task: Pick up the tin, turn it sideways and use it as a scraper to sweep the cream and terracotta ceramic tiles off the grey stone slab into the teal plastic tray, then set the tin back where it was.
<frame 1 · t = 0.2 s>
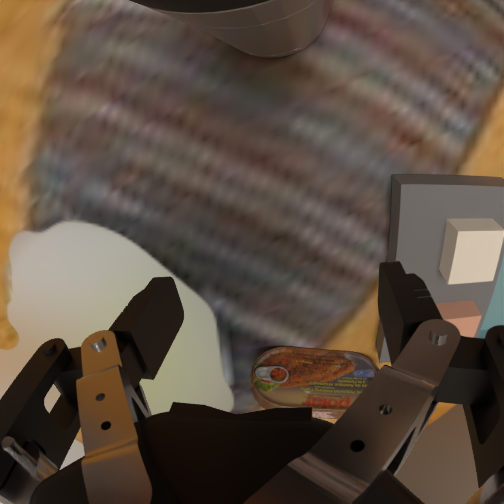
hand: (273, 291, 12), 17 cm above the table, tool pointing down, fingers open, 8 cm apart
cream tile: (466, 244, 24), point 3 cm above the table, touching grey stone slab
tin: (317, 356, 38), on the table
grey stone slab: (439, 269, 29), on the table
terracotta tile: (447, 321, 29), point 3 cm above the table, touching grey stone slab
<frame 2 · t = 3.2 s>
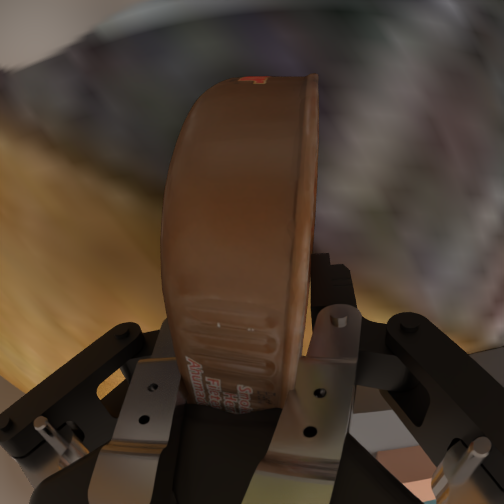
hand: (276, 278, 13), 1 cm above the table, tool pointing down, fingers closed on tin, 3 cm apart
tin: (275, 261, 14), on the table, touching gripper
grey stone slab: (462, 409, 17), on the table
terracotta tile: (408, 462, 16), point 3 cm above the table, touching grey stone slab
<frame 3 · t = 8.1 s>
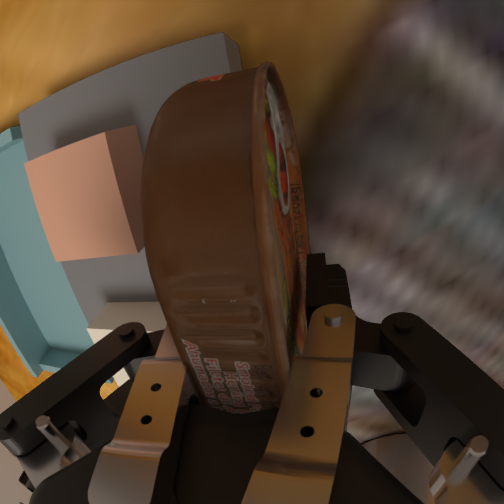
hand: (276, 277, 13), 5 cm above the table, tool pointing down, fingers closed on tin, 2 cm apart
cream tile: (156, 336, 18), point 3 cm above the table, touching grey stone slab
tin: (274, 252, 15), point 3 cm above the table, touching grey stone slab, gripper
grey stone slab: (168, 243, 19), on the table
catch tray: (43, 257, 21), on the table
terracotta tile: (104, 187, 14), point 3 cm above the table, touching grey stone slab
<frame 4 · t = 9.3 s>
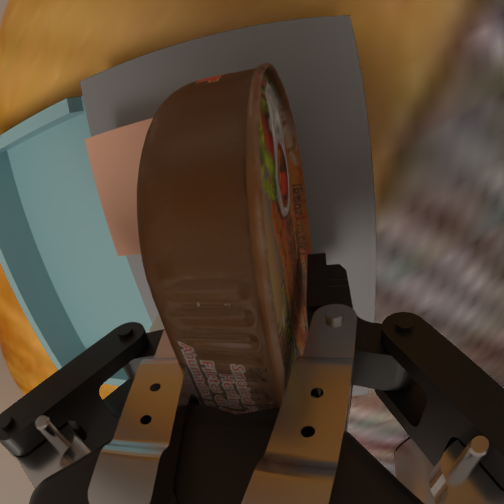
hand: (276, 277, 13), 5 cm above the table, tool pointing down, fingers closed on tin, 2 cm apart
tin: (276, 253, 15), point 3 cm above the table, touching grey stone slab, cream tile, gripper
grey stone slab: (252, 235, 17), on the table
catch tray: (89, 254, 20), on the table
terracotta tile: (177, 172, 13), point 3 cm above the table
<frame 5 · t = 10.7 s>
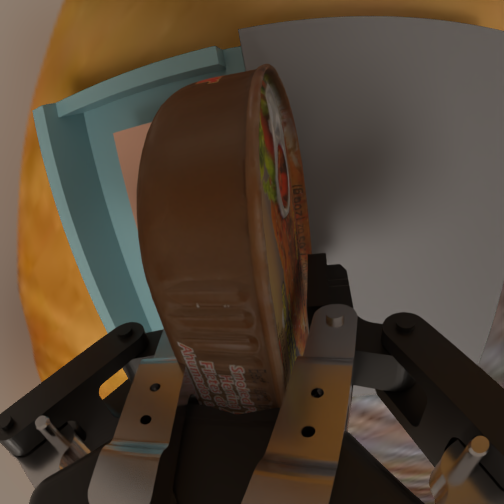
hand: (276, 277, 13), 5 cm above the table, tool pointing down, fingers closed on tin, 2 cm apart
tin: (276, 253, 15), point 3 cm above the table, touching gripper
grey stone slab: (393, 223, 16), on the table
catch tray: (190, 242, 18), on the table
terracotta tile: (198, 165, 15), point 1 cm above the table, tilted 12°
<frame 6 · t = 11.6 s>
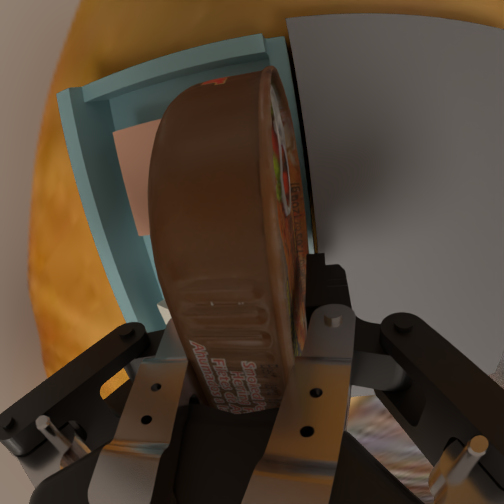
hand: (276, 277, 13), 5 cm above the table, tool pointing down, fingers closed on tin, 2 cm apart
tin: (274, 250, 15), point 2 cm above the table, touching cream tile, gripper, terracotta tile
grey stone slab: (425, 220, 15), on the table
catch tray: (219, 237, 18), on the table
terracotta tile: (193, 163, 15), point 1 cm above the table, touching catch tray, tin
when the fingers open (2 cm above the table, at t = 17.7 s): tin stays where it is, on the table.
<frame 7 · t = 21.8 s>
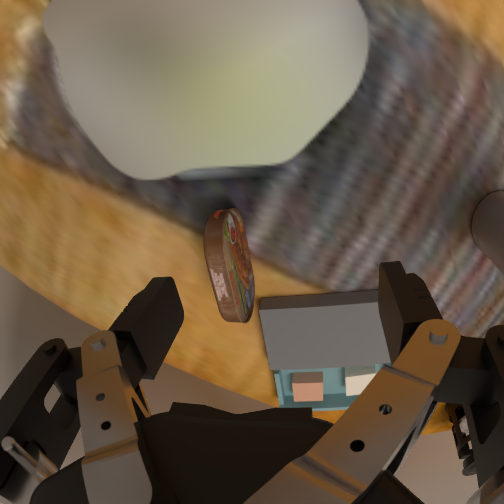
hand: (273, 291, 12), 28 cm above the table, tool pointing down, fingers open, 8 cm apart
cream tile: (359, 374, 50), point 1 cm above the table, touching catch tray
french press: (463, 400, 52), on the table
tin: (238, 252, 44), on the table
grey stone slab: (332, 326, 47), on the table
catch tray: (333, 375, 52), on the table
terracotta tile: (308, 381, 52), point 1 cm above the table, touching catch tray
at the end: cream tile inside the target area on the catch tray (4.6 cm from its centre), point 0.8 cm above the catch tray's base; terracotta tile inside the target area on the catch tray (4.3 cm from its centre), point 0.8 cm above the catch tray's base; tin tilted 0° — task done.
